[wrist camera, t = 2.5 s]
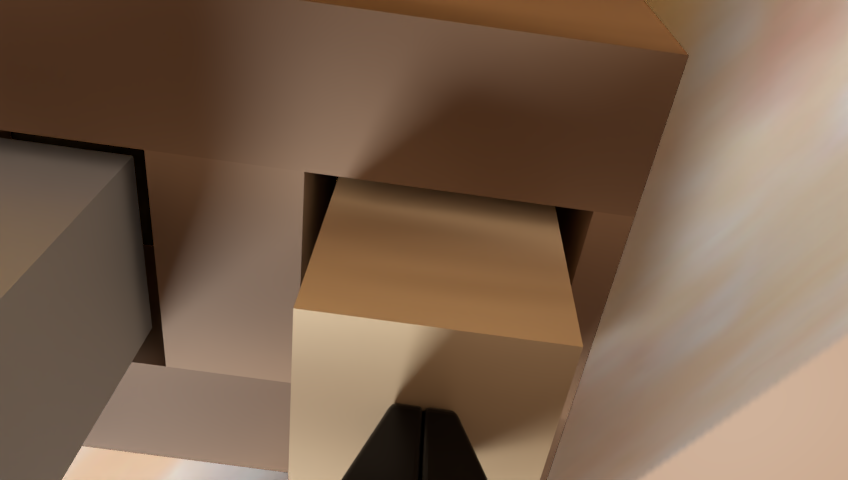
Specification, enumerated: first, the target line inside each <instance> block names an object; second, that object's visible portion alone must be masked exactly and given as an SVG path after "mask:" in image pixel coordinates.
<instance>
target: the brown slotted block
mask: <svg viewBox="0 0 848 480" xmlns="http://www.w3.org/2000/svg"><path fill="white" fill-rule="evenodd" d="M688 56H689V55H688V54H687V53H686V51H685V50H684V49H683V48H682V46H681V45H680V44H679V43H678V42H677V40H676V39H675V38H674V37H673V35H672V34H671V33H670V32H669V31H668V29H667V28H666V27H665V26H664V25H663V23H662V22H661V21H660V20H659V18H658V17H657V16H656V15H655V14H654V12H653V11H652V10H651V9H650V7H649V6H648V5H647V4H646V3H645V1H644V0H0V138H6V139H12V137H11V132H18V133H25V134H32V135H39V136H47V137H54V138H61V139H69V140H76V141H83V142H91V143H98V144H105V145H112V146H120V147H127V148H134V149H142V150H144V153H145V163H146V173H147V183H148V193H149V203H150V213H151V223H152V232H153V242H154V246H152V245H144V244H143V249H144V258H145V267H146V276H147V285H148V294H149V303H150V312H151V321H152V329H151V331H150V332H149V334H148V336H147V337H146V339H145V341H144V342H143V344H142V346H141V347H140V349H139V351H138V352H137V354H136V356H135V357H134V359H133V361H132V362H131V364H130V366H129V368H128V369H127V371H126V373H125V374H124V376H123V378H122V379H121V381H120V383H119V384H118V386H117V388H116V389H115V391H114V393H113V394H112V396H111V398H110V399H109V401H108V403H107V404H106V406H105V408H104V410H103V411H102V413H101V415H100V416H99V418H98V420H97V421H96V423H95V425H94V426H93V428H92V430H91V431H90V433H89V435H88V436H87V438H86V440H85V441H84V443H83V445H82V446H86V447H94V448H102V449H110V450H117V451H125V452H133V453H141V454H148V455H156V456H164V457H172V458H179V459H187V460H195V461H203V462H210V463H218V464H226V465H234V466H241V467H249V468H257V469H265V470H272V471H280V472H288V470H289V436H290V402H291V368H292V334H293V308H294V305H295V302H296V299H297V296H298V293H299V290H300V287H301V284H302V281H303V279H304V276H305V273H306V270H307V267H308V264H309V261H310V258H311V255H312V253H313V250H314V247H315V244H316V241H317V238H318V235H319V232H320V229H321V226H322V224H323V221H324V218H325V215H326V212H327V209H328V206H329V203H330V200H331V197H332V195H333V192H334V189H335V186H336V176H339V177H346V178H353V179H360V180H368V181H375V182H382V183H390V184H397V185H404V186H411V187H419V188H426V189H433V190H441V191H448V192H455V193H463V194H470V195H477V196H484V197H492V198H499V199H506V200H514V201H521V202H528V203H535V204H543V205H550V206H555V209H556V214H557V219H558V224H559V229H560V234H561V239H562V244H563V249H564V254H565V259H566V264H567V269H568V274H569V279H570V284H571V289H572V294H573V299H574V303H575V308H576V313H577V318H578V323H579V328H580V333H581V338H582V343H583V349H582V352H581V355H580V358H579V361H578V365H577V368H576V371H575V374H574V377H573V380H572V383H571V386H570V389H569V392H568V395H567V398H566V401H565V404H564V407H563V410H562V414H561V417H560V420H559V423H558V426H557V429H556V432H555V435H554V438H553V441H552V444H551V447H550V450H549V453H548V456H547V459H546V463H545V466H544V469H543V472H542V475H541V478H540V480H547V477H548V474H549V471H550V468H551V465H552V462H553V459H554V456H555V453H556V450H557V447H558V444H559V441H560V438H561V435H562V432H563V429H564V426H565V423H566V420H567V418H568V415H569V412H570V409H571V406H572V403H573V400H574V397H575V394H576V391H577V388H578V385H579V382H580V379H581V376H582V373H583V370H584V367H585V364H586V361H587V358H588V355H589V352H590V349H591V346H592V343H593V340H594V337H595V334H596V331H597V328H598V325H599V322H600V319H601V316H602V313H603V310H604V307H605V304H606V301H607V298H608V295H609V292H610V289H611V286H612V283H613V280H614V277H615V274H616V271H617V268H618V265H619V262H620V259H621V256H622V253H623V250H624V247H625V244H626V241H627V238H628V235H629V232H630V229H631V226H632V223H633V220H634V217H635V214H636V211H637V208H638V205H639V202H640V199H641V196H642V193H643V190H644V187H645V184H646V181H647V178H648V175H649V172H650V169H651V166H652V163H653V160H654V157H655V155H656V152H657V149H658V146H659V143H660V140H661V137H662V134H663V131H664V128H665V125H666V122H667V119H668V116H669V113H670V110H671V107H672V104H673V101H674V98H675V95H676V92H677V89H678V86H679V83H680V80H681V77H682V74H683V71H684V68H685V65H686V62H687V59H688Z"/></svg>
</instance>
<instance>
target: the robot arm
mask: <svg viewBox="0 0 848 480" xmlns="http://www.w3.org/2000/svg"><path fill="white" fill-rule="evenodd" d="M341 480H488V479H487V477H486V475H485V473H484V470H483V468H482V466H481V464H480V462H479V460H478V458H477V455H476V453H475V451H474V449H473V447H472V445H471V442H470V440H469V438H468V436H467V434H466V432H465V430H464V427H463V425H462V423H461V421H460V419H459V417H458V415H457V414H456V413H455V412H454V411H452V410H445V409H438V408H426V409H425V410H424V412H423V410H422V408H421V407H420V406H415V405H407V404H400V403H394V404H392V405H391V406H390V407H389V408H388V409H387V411H386V412H385V414H384V415H383V417H382V418H381V420H380V422H379V423H378V425H377V426H376V428H375V429H374V431H373V432H372V434H371V435H370V437H369V438H368V440H367V441H366V443H365V444H364V446H363V447H362V449H361V450H360V452H359V453H358V455H357V456H356V458H355V459H354V461H353V462H352V464H351V465H350V467H349V468H348V470H347V472H346V473H345V475H344V476H343V478H342V479H341Z"/></svg>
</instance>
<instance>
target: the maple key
mask: <svg viewBox="0 0 848 480" xmlns="http://www.w3.org/2000/svg"><path fill="white" fill-rule="evenodd" d="M582 349H583V343H582V338H581V333H580V328H579V323H578V318H577V313H576V308H575V303H574V299H573V294H572V289H571V284H570V279H569V274H568V269H567V264H566V259H565V254H564V249H563V244H562V239H561V234H560V229H559V224H558V219H557V214H556V209H555V206H550V205H543V204H535V203H528V202H521V201H514V200H506V199H499V198H492V197H484V196H477V195H470V194H463V193H455V192H448V191H441V190H433V189H426V188H419V187H411V186H404V185H397V184H390V183H382V182H375V181H368V180H360V179H353V178H346V177H338V180H337V183H336V186H335V189H334V192H333V195H332V197H331V200H330V203H329V206H328V209H327V212H326V215H325V218H324V221H323V224H322V226H321V229H320V232H319V235H318V238H317V241H316V244H315V247H314V250H313V253H312V255H311V258H310V261H309V264H308V267H307V270H306V273H305V276H304V279H303V281H302V284H301V287H300V290H299V293H298V296H297V299H296V302H295V305H294V308H293V334H292V368H291V402H290V436H289V470H288V480H341V479H342V478H343V476H344V475H345V473H346V472H347V470H348V468H349V467H350V465H351V464H352V462H353V461H354V459H355V458H356V456H357V455H358V453H359V452H360V450H361V449H362V447H363V446H364V444H365V443H366V441H367V440H368V438H369V437H370V435H371V434H372V432H373V431H374V429H375V428H376V426H377V425H378V423H379V422H380V420H381V418H382V417H383V415H384V414H385V412H386V411H387V409H388V408H389V407H390V406H391V405H392V404H394V403H400V404H407V405H415V406H420V407H421V408H422V410H423V412H424V410H425V409H426V408H438V409H445V410H452V411H454V412H455V413H456V414H457V415H458V417H459V419H460V421H461V423H462V425H463V427H464V430H465V432H466V434H467V436H468V438H469V440H470V442H471V445H472V447H473V449H474V451H475V453H476V455H477V458H478V460H479V462H480V464H481V466H482V468H483V470H484V473H485V475H486V477H487V479H488V480H540V478H541V475H542V472H543V469H544V466H545V463H546V459H547V456H548V453H549V450H550V447H551V444H552V441H553V438H554V435H555V432H556V429H557V426H558V423H559V420H560V417H561V414H562V410H563V407H564V404H565V401H566V398H567V395H568V392H569V389H570V386H571V383H572V380H573V377H574V374H575V371H576V368H577V365H578V361H579V358H580V355H581V352H582Z"/></svg>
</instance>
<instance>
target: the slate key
mask: <svg viewBox="0 0 848 480" xmlns="http://www.w3.org/2000/svg"><path fill="white" fill-rule="evenodd" d="M151 329H152V321H151V312H150V303H149V294H148V285H147V276H146V267H145V258H144V249H143V240H142V231H141V222H140V213H139V204H138V195H137V186H136V177H135V168H134V159H133V156H130V155H123V154H116V153H108V152H101V151H94V150H86V149H79V148H72V147H65V146H57V145H50V144H43V143H35V142H28V141H21V140H13V139H6V138H0V480H62V478H63V477H64V475H65V473H66V472H67V470H68V468H69V467H70V465H71V463H72V462H73V460H74V458H75V457H76V455H77V453H78V451H79V450H80V448H81V446H82V445H83V443H84V441H85V440H86V438H87V436H88V435H89V433H90V431H91V430H92V428H93V426H94V425H95V423H96V421H97V420H98V418H99V416H100V415H101V413H102V411H103V410H104V408H105V406H106V404H107V403H108V401H109V399H110V398H111V396H112V394H113V393H114V391H115V389H116V388H117V386H118V384H119V383H120V381H121V379H122V378H123V376H124V374H125V373H126V371H127V369H128V368H129V366H130V364H131V362H132V361H133V359H134V357H135V356H136V354H137V352H138V351H139V349H140V347H141V346H142V344H143V342H144V341H145V339H146V337H147V336H148V334H149V332H150V331H151Z"/></svg>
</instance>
